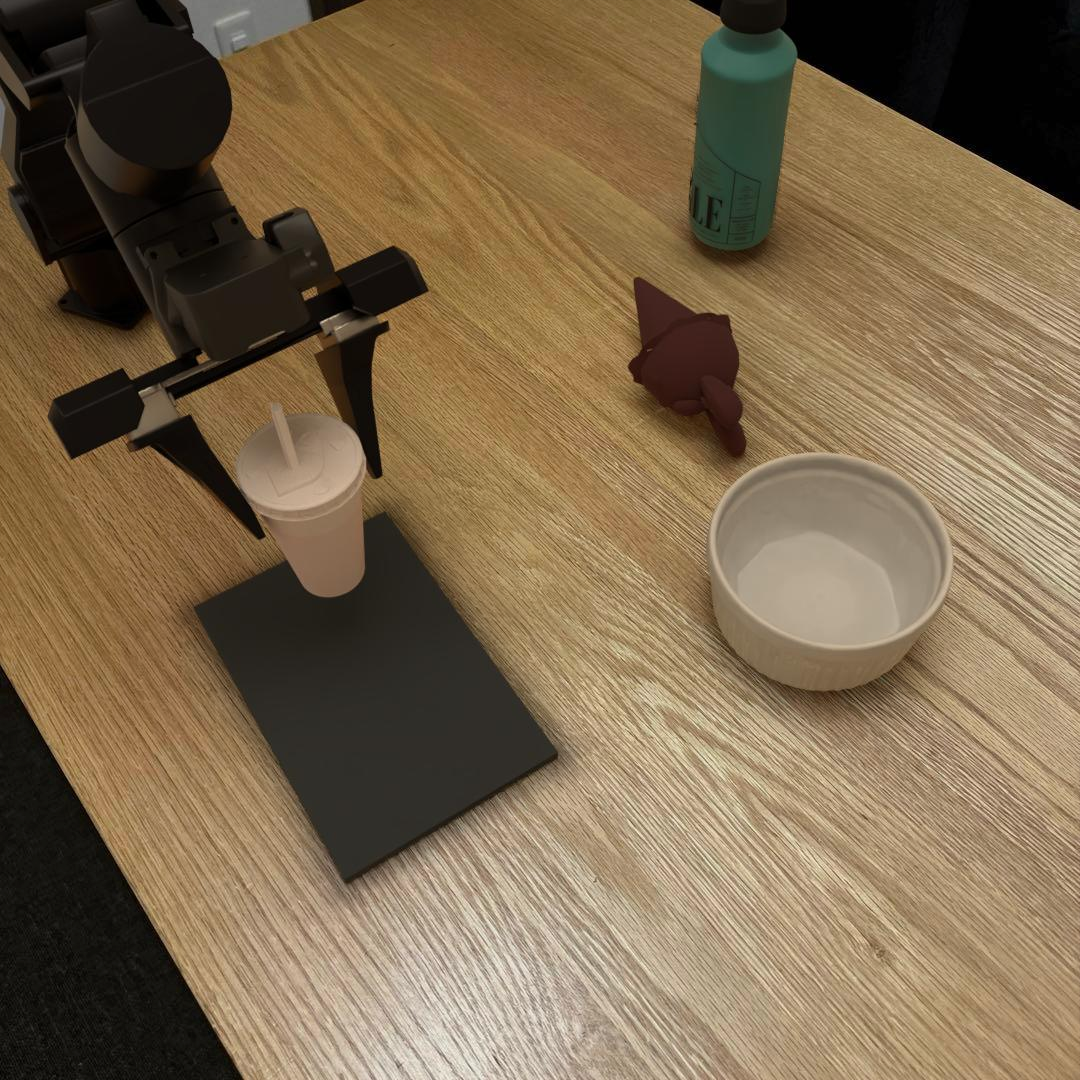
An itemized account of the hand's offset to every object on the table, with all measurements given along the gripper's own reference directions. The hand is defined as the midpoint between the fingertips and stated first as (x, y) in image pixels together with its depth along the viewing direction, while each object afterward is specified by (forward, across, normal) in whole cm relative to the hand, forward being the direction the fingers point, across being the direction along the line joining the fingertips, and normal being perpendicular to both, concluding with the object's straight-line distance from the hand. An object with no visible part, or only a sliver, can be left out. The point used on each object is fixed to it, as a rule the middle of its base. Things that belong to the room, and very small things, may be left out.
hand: (320, 507), depth 60 cm
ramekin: (+19, +23, -1) cm, 29 cm away
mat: (+11, -1, +6) cm, 13 cm away
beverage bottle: (-1, +40, +19) cm, 44 cm away
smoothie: (+4, 0, +6) cm, 7 cm away
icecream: (+6, +28, +12) cm, 31 cm away
